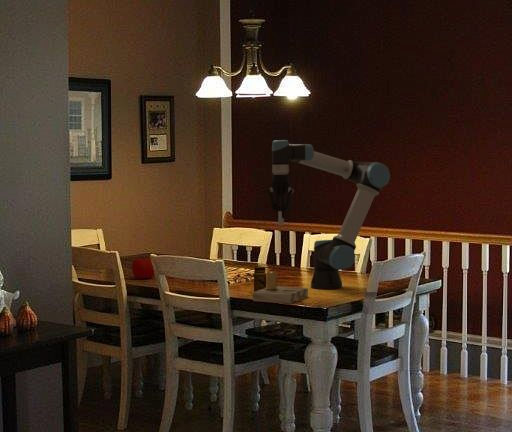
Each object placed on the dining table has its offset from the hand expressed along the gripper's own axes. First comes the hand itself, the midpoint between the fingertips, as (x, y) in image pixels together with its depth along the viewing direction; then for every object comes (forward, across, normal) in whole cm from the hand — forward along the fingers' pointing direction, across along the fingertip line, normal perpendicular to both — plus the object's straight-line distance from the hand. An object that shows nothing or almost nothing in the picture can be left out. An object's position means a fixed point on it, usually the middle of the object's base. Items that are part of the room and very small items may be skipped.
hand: (281, 225), depth 456 cm
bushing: (+32, 0, -10) cm, 34 cm away
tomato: (+33, -90, +24) cm, 99 cm away
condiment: (+33, -14, +4) cm, 36 cm away
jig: (+32, +4, -10) cm, 34 cm away
